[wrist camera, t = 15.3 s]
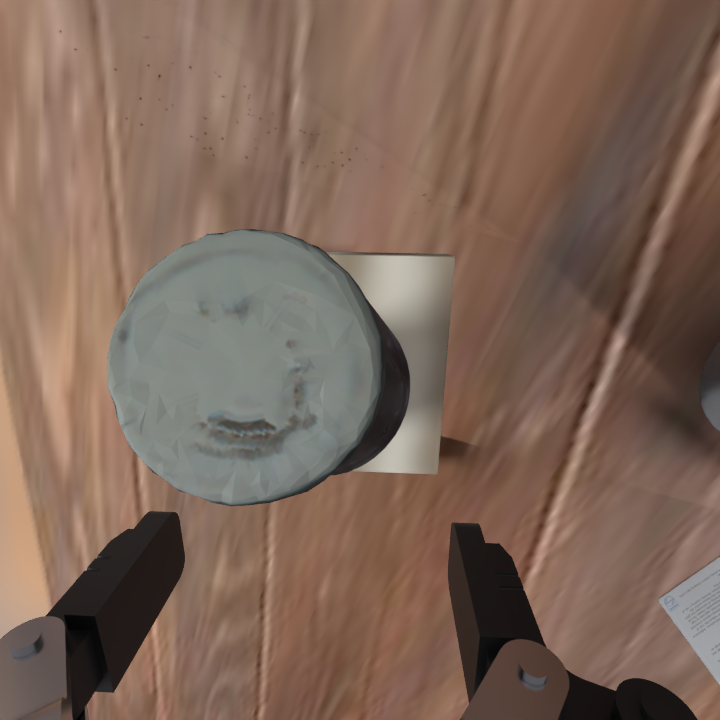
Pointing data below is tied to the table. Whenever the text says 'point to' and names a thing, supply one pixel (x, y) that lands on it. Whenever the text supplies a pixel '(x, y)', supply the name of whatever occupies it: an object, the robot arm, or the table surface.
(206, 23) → the table surface
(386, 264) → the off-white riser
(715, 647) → the light bulb box
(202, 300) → the sauce bottle
